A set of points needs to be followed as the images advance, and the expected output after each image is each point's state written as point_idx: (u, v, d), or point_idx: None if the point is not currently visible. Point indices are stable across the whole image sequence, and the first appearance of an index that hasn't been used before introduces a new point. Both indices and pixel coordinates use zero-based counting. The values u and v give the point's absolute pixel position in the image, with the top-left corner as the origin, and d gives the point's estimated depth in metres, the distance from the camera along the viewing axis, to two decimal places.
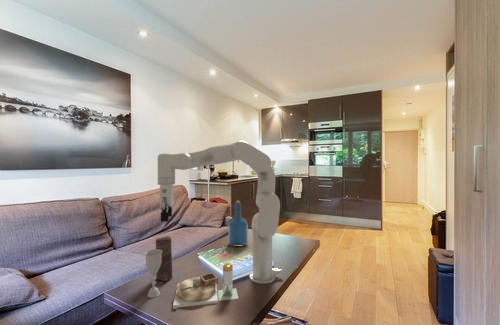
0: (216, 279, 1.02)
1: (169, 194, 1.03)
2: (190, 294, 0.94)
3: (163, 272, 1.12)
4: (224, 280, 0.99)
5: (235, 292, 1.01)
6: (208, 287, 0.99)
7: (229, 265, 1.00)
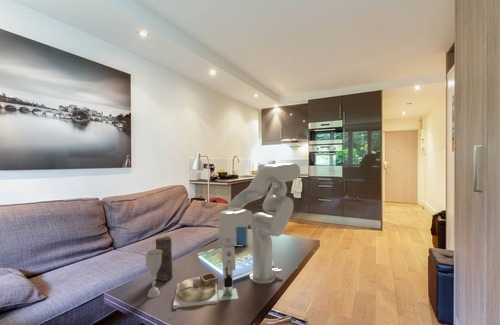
0: (216, 279, 1.02)
1: (233, 257, 0.96)
2: (190, 294, 0.94)
3: (163, 272, 1.12)
4: None
5: (235, 292, 1.01)
6: (208, 287, 0.99)
7: None
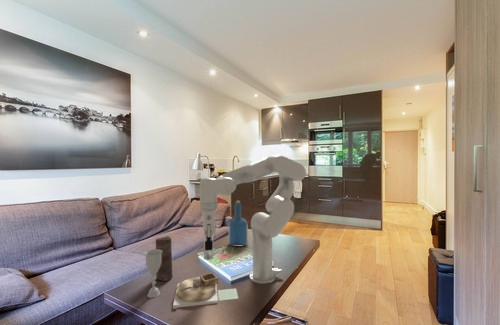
0: (216, 279, 1.02)
1: (213, 221, 0.99)
2: (190, 294, 0.94)
3: (163, 272, 1.12)
4: None
5: (235, 292, 1.01)
6: (208, 287, 0.99)
7: None
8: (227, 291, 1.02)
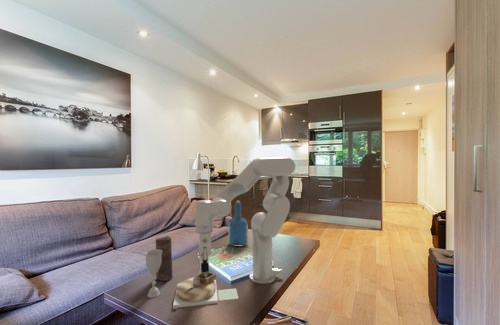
0: (214, 275, 1.05)
1: (209, 243, 1.01)
2: (198, 294, 0.94)
3: (163, 272, 1.12)
4: None
5: (235, 292, 1.01)
6: (209, 284, 1.01)
7: None
8: (227, 291, 1.02)
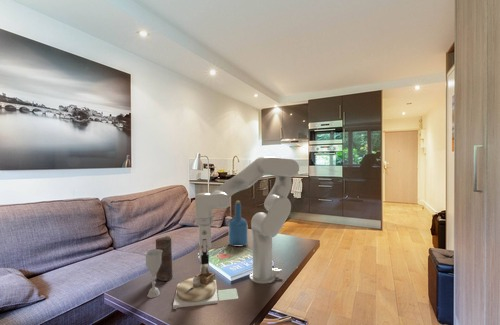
0: (213, 275, 1.06)
1: (209, 235, 1.01)
2: (199, 293, 0.94)
3: (163, 272, 1.12)
4: None
5: (235, 292, 1.01)
6: (209, 284, 1.02)
7: None
8: (227, 291, 1.02)
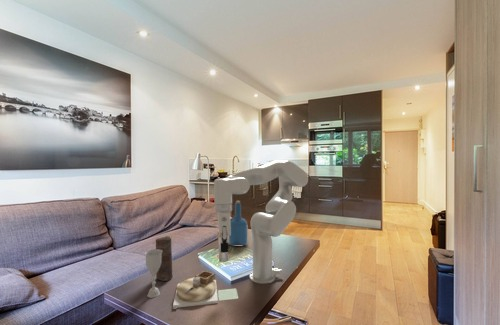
0: (213, 275, 1.06)
1: (229, 222, 0.97)
2: (199, 293, 0.94)
3: (163, 272, 1.12)
4: (220, 246, 1.00)
5: (235, 292, 1.01)
6: (209, 284, 1.02)
7: None
8: (227, 291, 1.02)
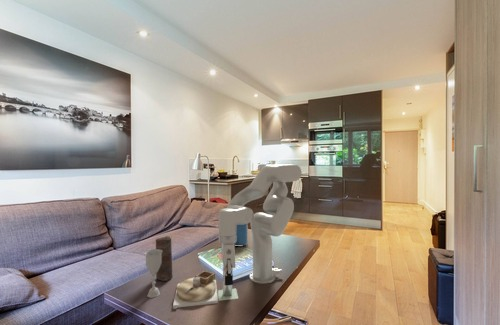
0: (213, 275, 1.06)
1: (233, 255, 0.96)
2: (199, 293, 0.94)
3: (163, 272, 1.12)
4: None
5: (235, 292, 1.01)
6: (209, 284, 1.02)
7: None
8: None
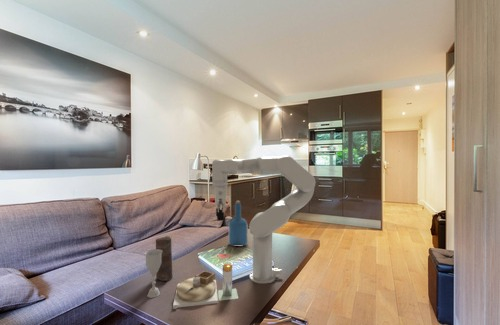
0: (213, 275, 1.06)
1: (224, 196, 1.15)
2: (199, 293, 0.94)
3: (163, 272, 1.12)
4: (225, 281, 0.98)
5: (235, 292, 1.01)
6: (209, 284, 1.02)
7: (228, 265, 1.00)
8: None
